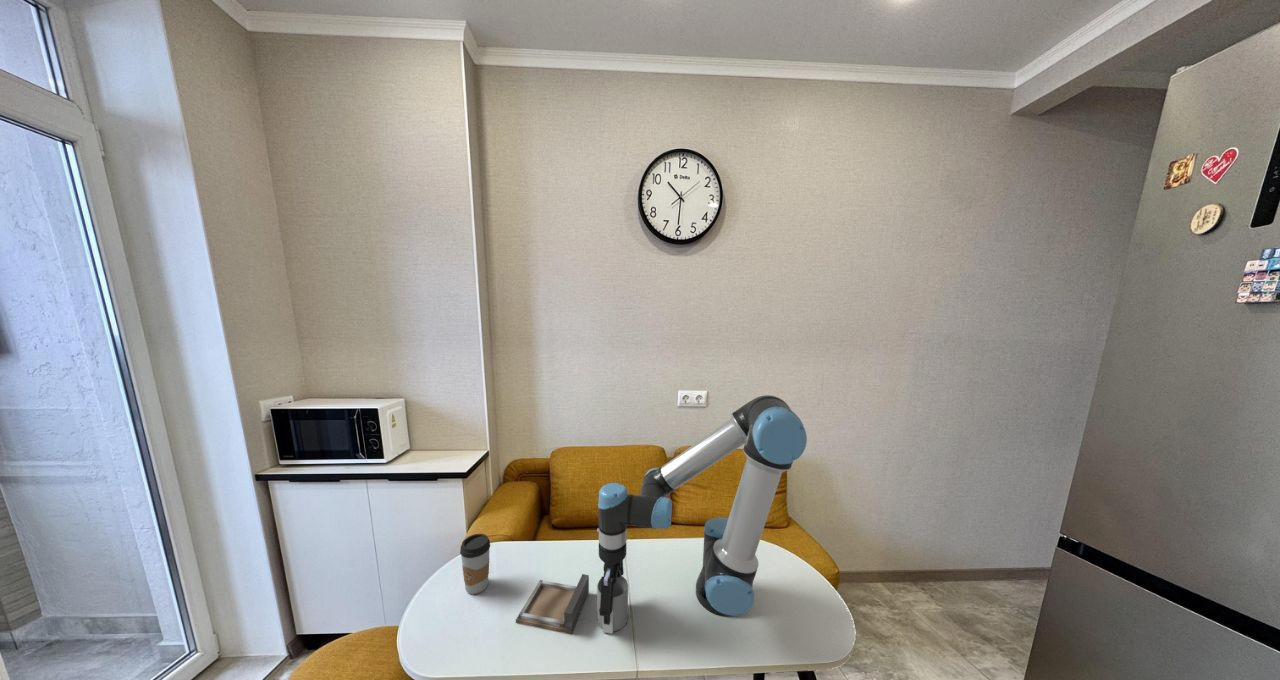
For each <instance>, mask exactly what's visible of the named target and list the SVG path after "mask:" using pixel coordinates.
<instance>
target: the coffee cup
mask: <svg viewBox="0 0 1280 680" xmlns="http://www.w3.org/2000/svg"><path fill="white" fill-rule="evenodd" d="M490 548H491V542H490V539H489V537H488V535H487V534H485V533H474V534H472V535H469V536H467V537H466V538H465V539H463V541H462V542H461V545H460V550H459V553H460V555H461V563H462V564H461V566H462V574H463V582H464V589H465V591H466V593H467V594H469V595H477V594H479V593H482V592H483V591H484V590H486V588H487V587H488V584H489V574H490Z"/></svg>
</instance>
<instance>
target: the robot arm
mask: <svg viewBox="0 0 1280 680" xmlns="http://www.w3.org/2000/svg"><path fill="white" fill-rule="evenodd" d="M807 441H808V438H807V431H806V429H805V427H804V423H803V422H802V420H801V418H800V417H799V416H798V415H797V414H796V413H795V411H793V410H792V409H791V407H790V406H789V405H788V403H787V402H786V401H784V400H783V399H781V398H780V397H777V396H774V395H769V394H768V395H761V396H758V397H755V398H753V399H751V400H750V401H748V402H746V403H745V404H744V405H742V406H741V407H739V408H738V409H736V410H735V411H734V412H732V413H731V415H730V419H729V420H727V421H726V422H725V423H723V424H721V425H720V426H719V427H717V428H716V429H713V431H712V432H710V433H708V434H707V435H706V436H704V437H703V438H701V439H699V440H698V441H697V442H695V443H694V444H693V445H691V446H690V447H688V448H687V449H685V450H684V451H682V452H681V453H679V454H678V455H676V456H675V457H673V458H672V459H671V460H669V461H667V462H666V463H665V464H663V465H662V466H660V467H653V468H650V469H648V471H647V472H646V473H645V475H644V477H643V479H642V485H641V488H640V491H639V494H629V493H628V489H627V487H626V486H625V485H623V484H620V483H619V482H610V483H607V484H604V485H603V486H602V487H601V488H600V489H599V492H598V504H597V507H598V527H597V529H596V532H597V533H598V557H599V559H600V560H601V561H602V562H603V576H601V578H600V579H601V601H600V609H599V612H600V616H603V629H602V632H603V633H606V634H612V635H613V634H614V631H613V609H612V604H613V594H614V584H615V583H616V581H617V577H620V576H623V575H624V560H625V558H626V556H627V541H628V539H627V538H628V536H627V535H628V534H627V533H628V531H627V530H628V529H627V526H631V527H632V526H634V527H641V528H649V529H654V530H656V529H669V528H670V527H671V525H672V515H673V514H672V513H673V502H672V501H673V500H672V499H671V498H670V497H667V496H668V495H670V494H671V493H673V492H674V491H676V490H677V489H678V488H680V487H682V486H683V485H684V484H686V483H688V482H689V481H691V480H692V479H694V478H695V477H696V476H698V475H700V474H701V473H703V472H704V471H705V470H708V468H709V469H710V467H712V466H714V465H715V464H717V463H718V462H719V461H721V460H722V459H724V458H725V457H727V456H728V455H730V454H732V453H733V452H734V451H736V450H737V449H739V448H740V447H742V446H743V448H742V452H743V453H744V455H745V457H746V461H745V464H744V466H743V471H742V474H741V478H740V480H739V483H738V487H737V489H736V493H735V497H734V500H733V502H732V506H731V508H730V512H729V514H728V517H727V518H726V517H714V518H710V519H708V520H707V521H706V522H705V524H704V529H703V555H702V568H701V570H700V572H699V575H698V577H697V580H696V582H695V596H696V598H697V601H698V602H699V604H700V605H701V606H702V607H703V608H705V610H707V611H709V612H711V613H712V614H715V615H718V616H722V617H730V616H731V617H732V616H739V615H744V614H745V613H747V612H748V611H749V610H751V608H752V607H753V606H754V603H755V590H754V589H753V584H754V580H755V577H756V574H757V571H758V568H759V560H758V557H757V555H756V552H757V551H758V550H757V549H758V546H759V544H760V541H761V538H762V535H763V532H764V529H765V526H766V523H767V519H768V517H769V514H770V511H771V507H772V503H773V501H774V499H775V495H776V492H777V490H778V489H777V488H778V486H779V483H780V480H781V478H782V474H783V473H784V472H786V471H789V470H791V468H792V466H793V463H794V461H795V460H799V458H800V457H801V456H802V455H803V453H804V451H805V450H806V447H807ZM611 578H614V579H611Z"/></svg>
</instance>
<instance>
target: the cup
mask: <svg viewBox="0 0 1280 680" xmlns="http://www.w3.org/2000/svg"><path fill="white" fill-rule="evenodd" d="M611 579H614V578H611ZM628 583H629V582H628V580H627V579H626V578H625V577H624V576H623V575H622V576H620V577H617V581H616V583H615V584H614V594H613V604H612V609H613V632H617V631H620V630H621V629H623V628H624V627H625V626H626V624H627V621H628V618H629V611H628V610H629V584H628ZM596 595H597V597H596V598H597V600H596V601H597V603H596V606H597V607H596V610H597V612H596V613H597V614H596V615H597V617H596V618H597V623H598V626H600V628H601V629H602V630H603V616H600V612H599V609H600V601H601V578H600V579H599V580H598V582H597V585H596Z"/></svg>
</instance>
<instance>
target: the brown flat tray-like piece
mask: <svg viewBox="0 0 1280 680" xmlns="http://www.w3.org/2000/svg"><path fill="white" fill-rule="evenodd" d="M589 593H590V575H589V574H584V573H582V574H581V577H580V579H579V581H578V583H577V585H571V584H565V583H559V582H555V581H554V582H553V581H547V580H542V579H539V581H538V583H537V584H536V586H535V588H534V589H533V590H532V592H531V594H530V595H529V597H528V599H527V600H526V602H525V603H524V605H523V607H522V608H521V610H520V612H519V613H518V615H517V617H516V619H515V624H519V625H523V626H530V627H534V628H538V629H543V630H548V631H553V632H558V633H563V634H567V635H568V634H569V635H572V634H573V631H574V630H575V626H576V625H577V623H578V620H579V617H580V615H581V613H582V610H583V608H584V607H585V603H586V601H587V599H588V597H589Z"/></svg>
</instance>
